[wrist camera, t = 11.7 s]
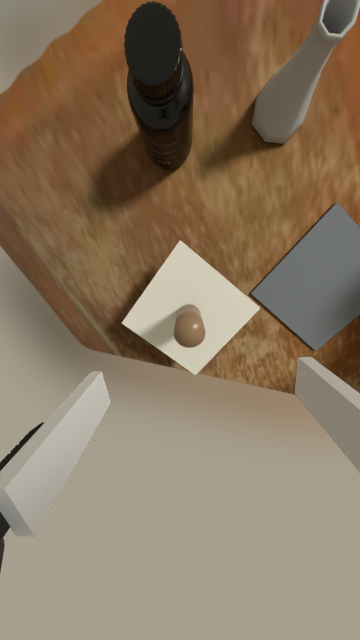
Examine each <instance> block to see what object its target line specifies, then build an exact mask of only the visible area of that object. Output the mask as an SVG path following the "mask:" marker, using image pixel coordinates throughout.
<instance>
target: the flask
mask: <svg viewBox="0 0 360 640" xmlns="http://www.w3.org/2000/svg"><path fill="white" fill-rule="evenodd" d="M359 7H360V0H323V2H322V4H321V7H320V10H319V14H318V19H317V21H316V23H315V25H314V27H313V28H312V30H311V32H310V34H309V35H308V37H307V38H306V40H305V41H304V42H303V44H302V45H301V47H300V48H299V49H298V50H297V51H296V52H295V53H294V54H293V55H292V56H291V58H290V59H289V60H288V61H287V62H286V63H285V64H284V65H283V66H282V67H281V68H280V69H279V70H278V71H277V72H276V73H275V74H274V75H273V76H272V78H271V79H270V80H269V82H268V83H267V84H266V85H265V87H264V88H263V89H262V91H261V92H260V93H259V95H258V96H257V97H256V103H255V109H254V114H253V120H252V126H253V127H254V128H255V130H256V131H257V132H258V133H259V135H260V136H261V137H262V139H263V140H264V141H265V142H272V143H282V144H285V143H286V142H287V141H288V140H289V139H290V137H291V136H292V135H293V134H294V133H295V132H296V130H297V129H298V128H299V127H300V126H301V125H302V123H303V120H304V118H305V115H306V112H307V109H308V106H309V103H310V100H311V97H312V95H313V92H314V90H315V87H316V84H317V82H318V79H319V77H320V74H321V71H322V69H323V68H324V66H325V64H326V62H327V60H328V58H329V56H330V54H331V52H332V50H333V48H334V47H335V45H337V44H338V43H339V42H340V41H341V40H342V38H343V37H344V36H345V35H346V33H347V32H348V31H349V30H350V29H351V27H352V26H353V25H354V23H355V22H356V18H357V14H358V11H359Z"/></svg>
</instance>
